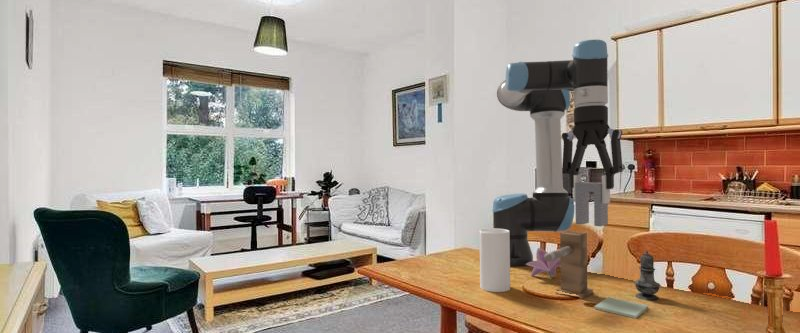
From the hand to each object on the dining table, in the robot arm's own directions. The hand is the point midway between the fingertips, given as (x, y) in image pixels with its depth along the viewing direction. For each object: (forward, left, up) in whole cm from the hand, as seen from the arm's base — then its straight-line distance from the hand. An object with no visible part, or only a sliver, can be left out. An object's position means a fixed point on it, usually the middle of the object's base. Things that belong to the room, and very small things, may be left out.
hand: (591, 201), depth 103 cm
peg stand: (-1, -7, -25) cm, 26 cm away
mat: (-3, +6, -25) cm, 26 cm away
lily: (-14, -18, -26) cm, 35 cm away
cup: (+3, -25, -25) cm, 36 cm away
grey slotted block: (0, 0, -5) cm, 5 cm away
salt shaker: (-16, +8, -25) cm, 31 cm away
